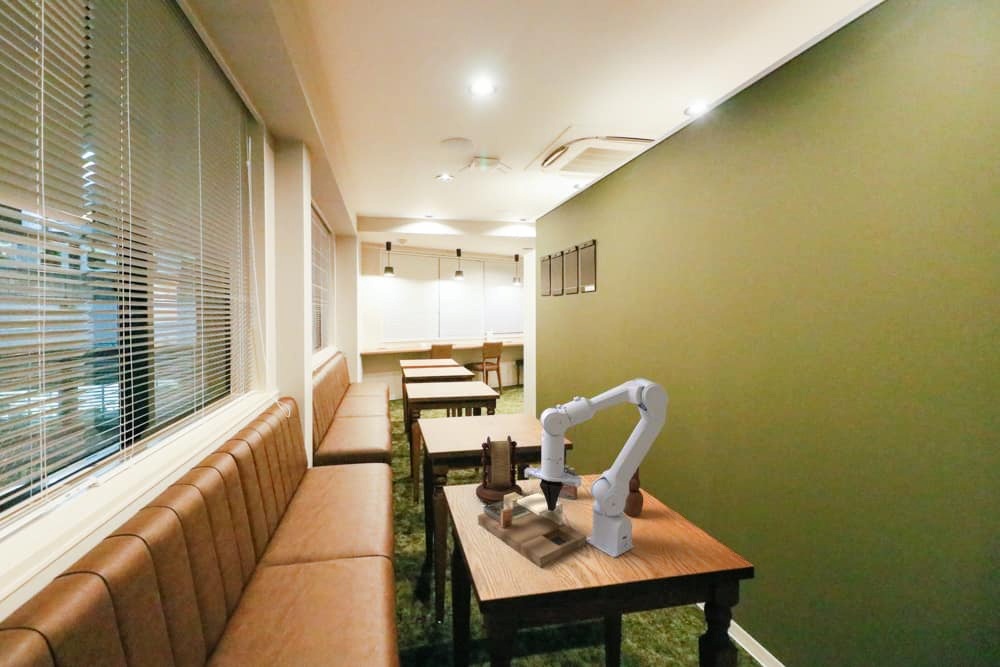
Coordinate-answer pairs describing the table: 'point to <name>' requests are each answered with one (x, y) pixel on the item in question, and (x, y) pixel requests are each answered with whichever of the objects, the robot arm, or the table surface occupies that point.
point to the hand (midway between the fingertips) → (551, 509)
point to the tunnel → (536, 531)
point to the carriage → (502, 513)
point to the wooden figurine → (634, 497)
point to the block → (511, 500)
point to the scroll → (498, 471)
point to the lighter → (569, 486)
